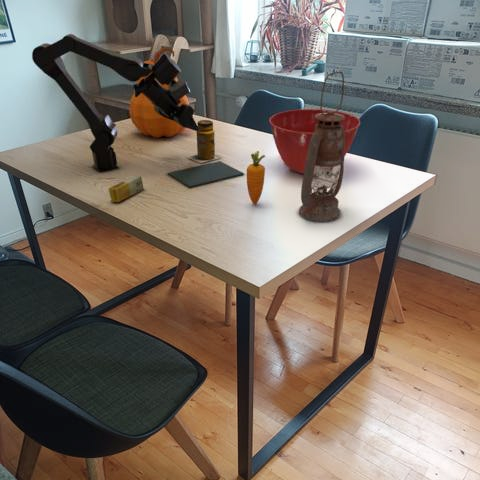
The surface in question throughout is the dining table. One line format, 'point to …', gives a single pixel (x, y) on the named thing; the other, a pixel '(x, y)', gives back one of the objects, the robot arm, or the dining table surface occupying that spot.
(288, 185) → the dining table surface
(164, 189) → the dining table surface
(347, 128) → the mixing bowl
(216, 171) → the placemat
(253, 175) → the carrot
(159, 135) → the decorative pumpkin
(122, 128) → the dining table surface
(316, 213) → the lantern
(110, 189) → the medication box
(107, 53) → the robot arm
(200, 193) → the dining table surface
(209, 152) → the condiment
